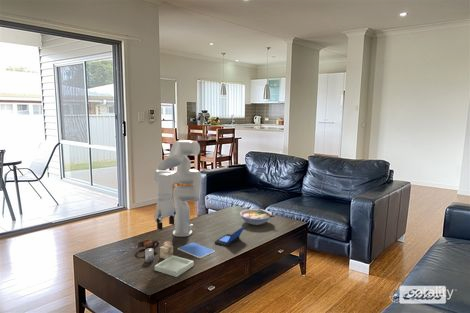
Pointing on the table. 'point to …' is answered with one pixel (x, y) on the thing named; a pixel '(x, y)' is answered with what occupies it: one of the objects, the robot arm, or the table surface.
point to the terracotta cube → (168, 243)
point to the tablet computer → (196, 250)
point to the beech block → (166, 251)
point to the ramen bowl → (256, 216)
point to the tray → (174, 265)
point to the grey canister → (149, 255)
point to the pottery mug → (148, 244)
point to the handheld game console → (229, 238)
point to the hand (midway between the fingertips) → (165, 226)
